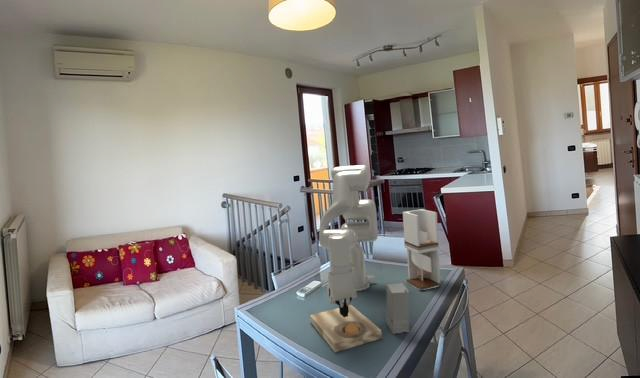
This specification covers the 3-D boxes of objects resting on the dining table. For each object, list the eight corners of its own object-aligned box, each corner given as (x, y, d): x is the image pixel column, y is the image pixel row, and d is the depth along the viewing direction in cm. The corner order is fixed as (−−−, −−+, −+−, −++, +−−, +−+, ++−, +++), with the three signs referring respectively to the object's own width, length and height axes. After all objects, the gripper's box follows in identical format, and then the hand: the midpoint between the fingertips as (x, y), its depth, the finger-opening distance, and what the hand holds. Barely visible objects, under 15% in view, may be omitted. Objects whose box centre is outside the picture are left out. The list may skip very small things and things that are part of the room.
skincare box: (386, 323, 138) (383, 283, 136) (404, 321, 138) (402, 281, 137) (392, 335, 130) (390, 292, 128) (412, 332, 130) (409, 290, 128)
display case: (406, 283, 175) (402, 212, 171) (425, 279, 178) (422, 209, 174) (420, 291, 164) (416, 215, 160) (440, 287, 168) (436, 212, 164)
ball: (359, 338, 131) (352, 324, 134) (363, 333, 127) (356, 319, 130) (347, 343, 129) (341, 329, 132) (350, 338, 125) (344, 324, 128)
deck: (351, 311, 150) (351, 304, 150) (381, 338, 128) (381, 330, 128) (310, 322, 144) (310, 315, 144) (335, 352, 122) (334, 343, 121)
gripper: (354, 261, 139) (357, 306, 141) (317, 269, 133) (322, 316, 136) (363, 266, 132) (367, 314, 134) (325, 275, 126) (329, 325, 129)
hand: (344, 315), depth 135 cm, fingers closed
